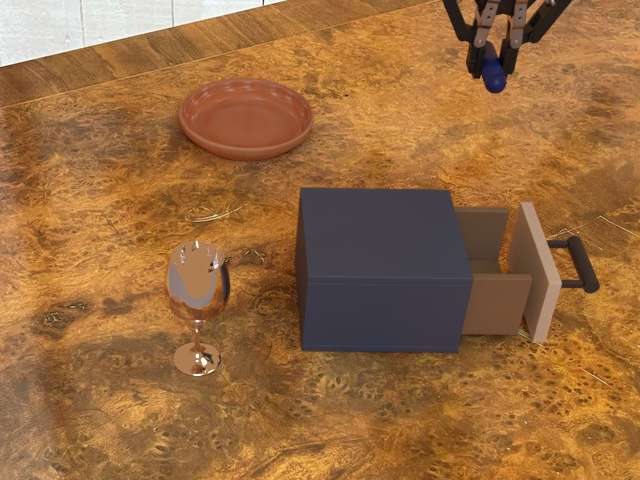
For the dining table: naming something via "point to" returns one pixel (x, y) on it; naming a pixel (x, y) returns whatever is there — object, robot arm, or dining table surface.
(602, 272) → the dining table surface
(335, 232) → the cabinet
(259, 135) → the saucer
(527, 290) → the drawer
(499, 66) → the blue capsule
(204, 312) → the wineglass
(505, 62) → the robot arm
